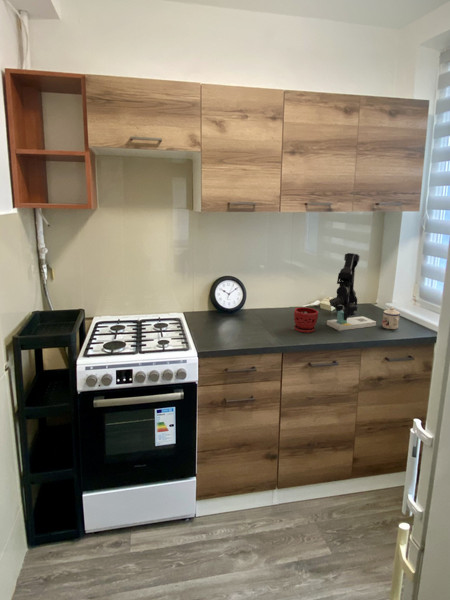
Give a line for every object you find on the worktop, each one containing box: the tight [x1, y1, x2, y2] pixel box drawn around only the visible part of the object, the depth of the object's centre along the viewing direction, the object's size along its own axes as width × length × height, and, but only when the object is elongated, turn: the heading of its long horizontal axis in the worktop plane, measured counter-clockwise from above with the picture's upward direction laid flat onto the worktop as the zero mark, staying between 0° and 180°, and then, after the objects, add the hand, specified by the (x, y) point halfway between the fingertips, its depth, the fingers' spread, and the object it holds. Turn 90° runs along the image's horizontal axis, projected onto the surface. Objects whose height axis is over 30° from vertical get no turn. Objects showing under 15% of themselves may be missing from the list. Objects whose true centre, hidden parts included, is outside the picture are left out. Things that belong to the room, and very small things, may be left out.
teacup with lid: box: [382, 307, 401, 330], centre depth 242 cm, size 12×9×12 cm
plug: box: [336, 310, 347, 324], centre depth 244 cm, size 4×4×10 cm
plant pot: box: [293, 306, 319, 334], centre depth 236 cm, size 13×13×12 cm
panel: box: [326, 316, 377, 332], centre depth 247 cm, size 12×26×3 cm, turn 111°
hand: (342, 319), depth 244 cm, fingers open, 5 cm apart
